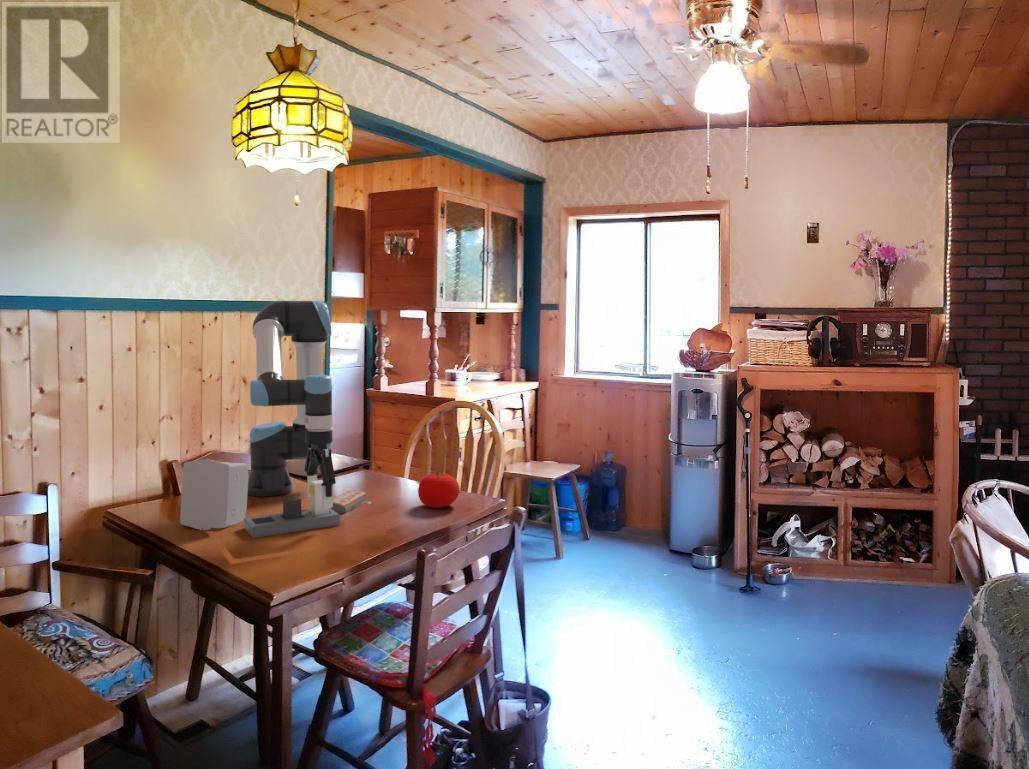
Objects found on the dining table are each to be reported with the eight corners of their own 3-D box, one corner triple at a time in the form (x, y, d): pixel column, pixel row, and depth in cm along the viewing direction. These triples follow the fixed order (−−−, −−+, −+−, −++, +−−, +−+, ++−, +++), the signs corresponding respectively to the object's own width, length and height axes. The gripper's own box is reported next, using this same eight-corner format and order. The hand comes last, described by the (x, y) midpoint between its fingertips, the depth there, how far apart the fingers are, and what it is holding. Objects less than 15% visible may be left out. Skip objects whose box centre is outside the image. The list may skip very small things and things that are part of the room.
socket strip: (243, 531, 211) (243, 517, 211) (328, 519, 225) (328, 506, 224) (252, 541, 203) (252, 527, 202) (340, 528, 216) (340, 514, 215)
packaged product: (344, 488, 245) (372, 490, 242) (344, 503, 245) (372, 505, 243) (315, 502, 227) (345, 504, 225) (315, 517, 228) (345, 520, 225)
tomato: (423, 500, 247) (423, 467, 246) (462, 503, 245) (462, 469, 244) (413, 510, 236) (413, 475, 234) (454, 512, 234) (454, 477, 233)
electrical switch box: (255, 525, 225) (258, 458, 226) (225, 532, 211) (229, 460, 211) (211, 521, 228) (215, 455, 229) (179, 528, 214) (183, 457, 215)
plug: (308, 522, 218) (307, 481, 217) (324, 519, 221) (324, 479, 219) (312, 525, 215) (312, 484, 213) (329, 523, 217) (328, 482, 216)
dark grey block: (283, 525, 214) (282, 498, 213) (297, 523, 216) (296, 496, 215) (287, 529, 211) (286, 501, 210) (301, 527, 213) (301, 499, 212)
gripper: (292, 424, 223) (294, 494, 226) (319, 436, 203) (321, 514, 205) (317, 422, 228) (318, 491, 230) (346, 434, 207) (347, 510, 209)
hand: (319, 502), depth 217 cm, fingers open, 13 cm apart
